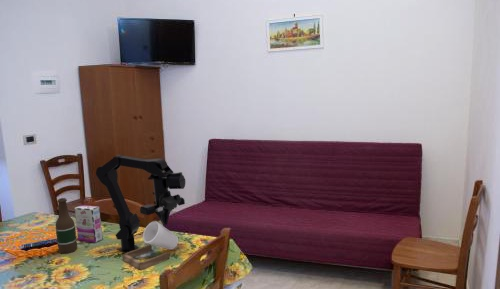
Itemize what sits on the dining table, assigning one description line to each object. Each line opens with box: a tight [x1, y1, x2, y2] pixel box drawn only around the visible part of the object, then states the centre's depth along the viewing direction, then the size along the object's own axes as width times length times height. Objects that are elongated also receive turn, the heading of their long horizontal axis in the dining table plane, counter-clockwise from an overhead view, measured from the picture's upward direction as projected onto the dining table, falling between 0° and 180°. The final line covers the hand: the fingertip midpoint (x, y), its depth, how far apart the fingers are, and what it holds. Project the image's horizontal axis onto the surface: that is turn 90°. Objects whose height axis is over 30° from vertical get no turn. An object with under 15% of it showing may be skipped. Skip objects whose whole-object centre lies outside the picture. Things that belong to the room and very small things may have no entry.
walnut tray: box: [121, 244, 170, 271], centre depth 163 cm, size 14×13×2 cm
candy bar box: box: [74, 204, 104, 244], centre depth 186 cm, size 11×5×16 cm, turn 68°
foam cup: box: [142, 220, 179, 251], centre depth 166 cm, size 10×9×13 cm
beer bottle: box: [55, 197, 78, 255], centre depth 174 cm, size 8×8×24 cm
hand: (165, 224), depth 167 cm, fingers closed
